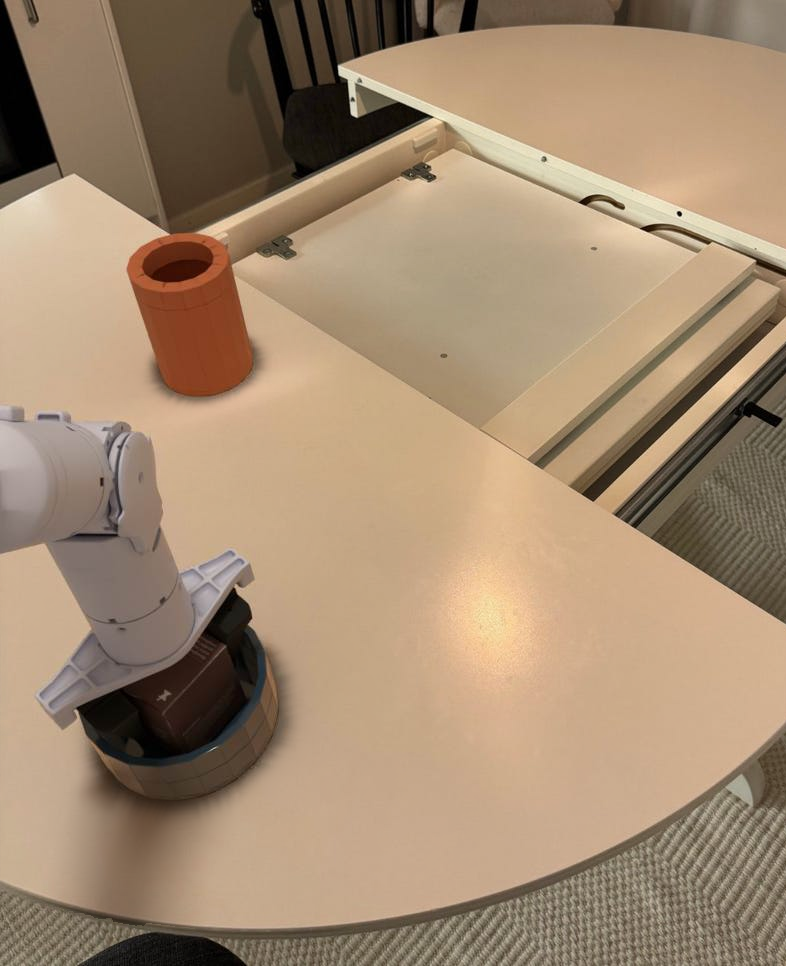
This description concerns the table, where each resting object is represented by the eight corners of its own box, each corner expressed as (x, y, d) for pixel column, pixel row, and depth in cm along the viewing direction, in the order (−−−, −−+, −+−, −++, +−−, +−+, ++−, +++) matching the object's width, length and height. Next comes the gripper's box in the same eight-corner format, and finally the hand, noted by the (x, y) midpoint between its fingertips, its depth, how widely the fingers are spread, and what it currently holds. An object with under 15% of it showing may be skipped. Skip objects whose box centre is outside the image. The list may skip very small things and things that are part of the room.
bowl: (172, 838, 62) (151, 805, 58) (66, 723, 67) (41, 687, 63) (313, 709, 68) (304, 672, 64) (206, 614, 73) (191, 575, 69)
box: (250, 701, 68) (229, 645, 62) (189, 769, 64) (162, 716, 59) (186, 661, 70) (161, 603, 64) (125, 725, 66) (93, 670, 61)
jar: (199, 409, 88) (166, 304, 79) (143, 368, 92) (107, 263, 83) (271, 363, 92) (248, 258, 83) (215, 325, 96) (187, 221, 87)
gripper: (186, 478, 61) (229, 601, 71) (-25, 623, 54) (56, 737, 64) (258, 536, 58) (292, 655, 68) (45, 698, 50) (118, 805, 61)
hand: (182, 699), depth 66 cm, fingers closed on box, 6 cm apart
